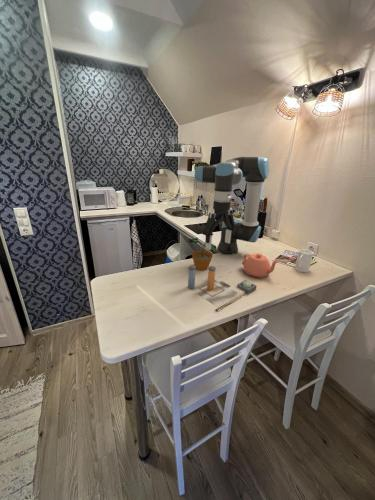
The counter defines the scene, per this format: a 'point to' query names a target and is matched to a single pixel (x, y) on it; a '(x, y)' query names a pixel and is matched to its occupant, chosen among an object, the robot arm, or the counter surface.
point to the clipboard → (216, 293)
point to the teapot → (258, 265)
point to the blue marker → (191, 277)
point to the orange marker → (211, 278)
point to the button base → (248, 290)
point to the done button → (247, 284)
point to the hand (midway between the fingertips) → (218, 245)
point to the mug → (303, 260)
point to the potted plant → (202, 256)
